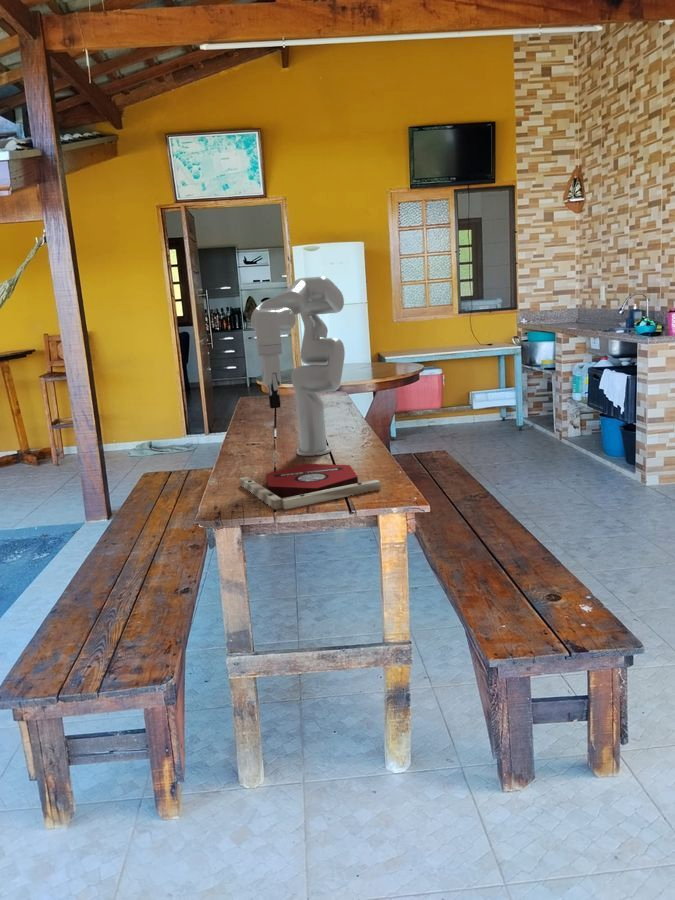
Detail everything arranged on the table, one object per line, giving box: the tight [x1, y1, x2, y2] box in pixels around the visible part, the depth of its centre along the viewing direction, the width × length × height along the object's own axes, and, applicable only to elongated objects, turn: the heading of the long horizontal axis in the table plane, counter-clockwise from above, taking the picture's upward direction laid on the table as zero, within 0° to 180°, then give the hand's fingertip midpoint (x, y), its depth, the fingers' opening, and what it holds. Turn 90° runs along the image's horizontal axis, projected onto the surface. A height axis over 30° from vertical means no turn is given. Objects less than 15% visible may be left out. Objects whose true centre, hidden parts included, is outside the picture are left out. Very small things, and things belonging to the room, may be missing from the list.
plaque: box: [265, 463, 359, 498], centre depth 224 cm, size 27×4×30 cm
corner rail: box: [239, 476, 381, 510], centre depth 221 cm, size 32×32×3 cm
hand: (275, 407), depth 235 cm, fingers closed
